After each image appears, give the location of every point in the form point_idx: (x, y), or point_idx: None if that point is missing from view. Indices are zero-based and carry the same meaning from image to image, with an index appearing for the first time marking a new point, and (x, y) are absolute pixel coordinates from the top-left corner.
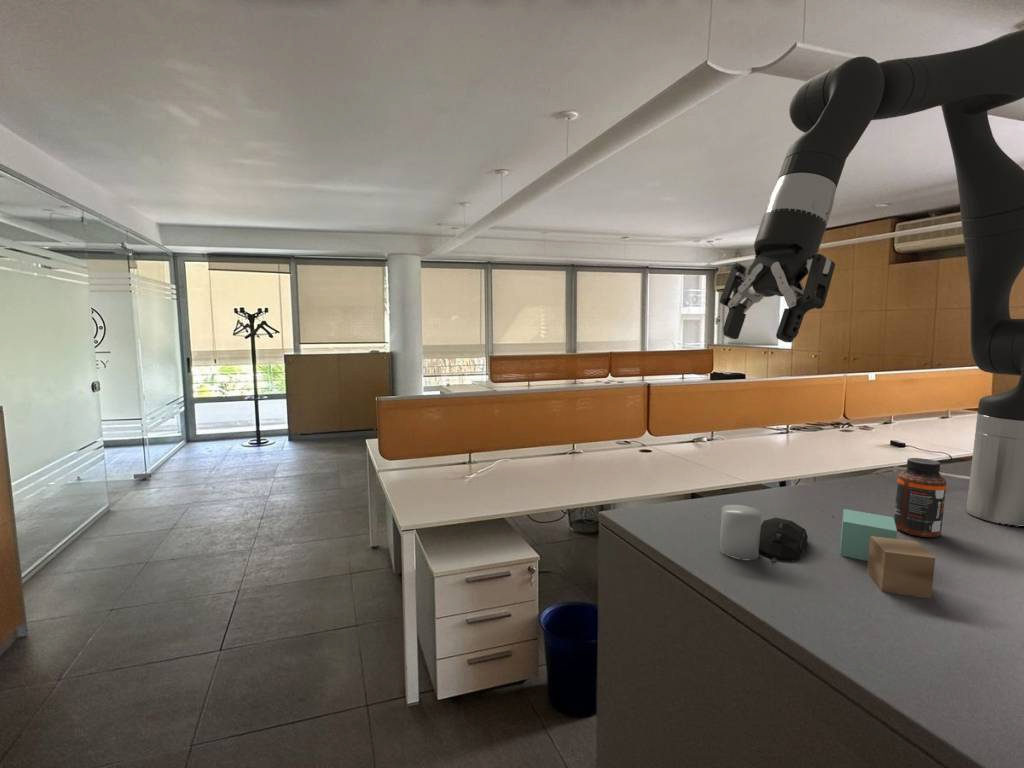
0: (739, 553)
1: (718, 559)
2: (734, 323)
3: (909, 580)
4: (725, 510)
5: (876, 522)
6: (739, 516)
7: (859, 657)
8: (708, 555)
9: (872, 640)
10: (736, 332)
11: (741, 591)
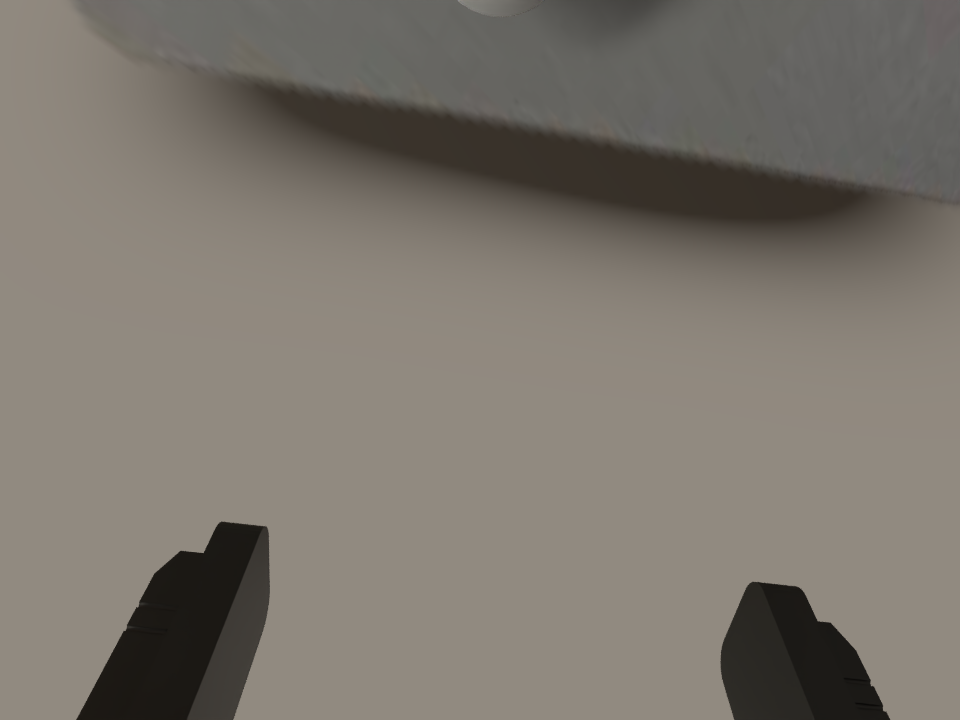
0: None
1: None
2: (236, 677)
3: None
4: (470, 1)
5: None
6: (532, 6)
7: (927, 129)
8: None
9: (946, 47)
10: (250, 582)
11: (653, 103)
